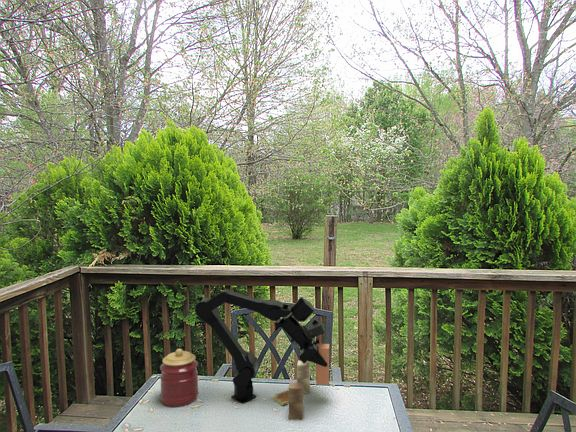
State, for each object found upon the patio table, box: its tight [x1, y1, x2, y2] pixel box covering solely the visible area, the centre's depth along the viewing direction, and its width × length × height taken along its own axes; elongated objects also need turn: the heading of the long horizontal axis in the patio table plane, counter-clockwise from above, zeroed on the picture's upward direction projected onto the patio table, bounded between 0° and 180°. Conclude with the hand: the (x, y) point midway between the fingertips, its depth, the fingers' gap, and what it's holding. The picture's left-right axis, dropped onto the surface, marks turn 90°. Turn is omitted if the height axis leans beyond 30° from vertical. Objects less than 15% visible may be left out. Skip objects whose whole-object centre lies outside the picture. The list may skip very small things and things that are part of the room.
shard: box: [271, 389, 289, 407], centre depth 138 cm, size 11×8×2 cm
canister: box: [159, 348, 199, 407], centre depth 138 cm, size 13×13×18 cm
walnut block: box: [288, 381, 305, 421], centre depth 126 cm, size 4×4×10 cm
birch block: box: [296, 360, 311, 394], centre depth 144 cm, size 4×4×10 cm
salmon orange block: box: [315, 343, 330, 386], centre depth 135 cm, size 4×4×12 cm
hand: (326, 363), depth 135 cm, fingers closed on salmon orange block, 4 cm apart
